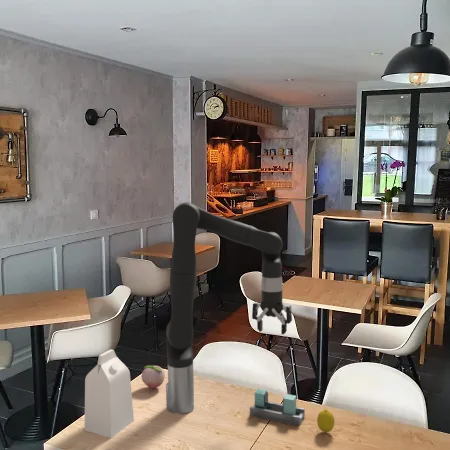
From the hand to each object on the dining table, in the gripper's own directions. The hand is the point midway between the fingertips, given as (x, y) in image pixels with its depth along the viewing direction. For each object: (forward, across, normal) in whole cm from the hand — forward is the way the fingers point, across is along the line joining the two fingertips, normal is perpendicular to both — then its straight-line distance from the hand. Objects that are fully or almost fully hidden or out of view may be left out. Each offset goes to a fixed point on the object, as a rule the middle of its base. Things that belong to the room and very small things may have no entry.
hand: (271, 332), depth 175 cm
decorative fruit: (+28, +48, +4) cm, 56 cm away
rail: (+28, -4, +6) cm, 29 cm away
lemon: (+28, -22, +10) cm, 37 cm away
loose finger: (+27, -9, +6) cm, 29 cm away
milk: (+28, +47, +34) cm, 65 cm away
